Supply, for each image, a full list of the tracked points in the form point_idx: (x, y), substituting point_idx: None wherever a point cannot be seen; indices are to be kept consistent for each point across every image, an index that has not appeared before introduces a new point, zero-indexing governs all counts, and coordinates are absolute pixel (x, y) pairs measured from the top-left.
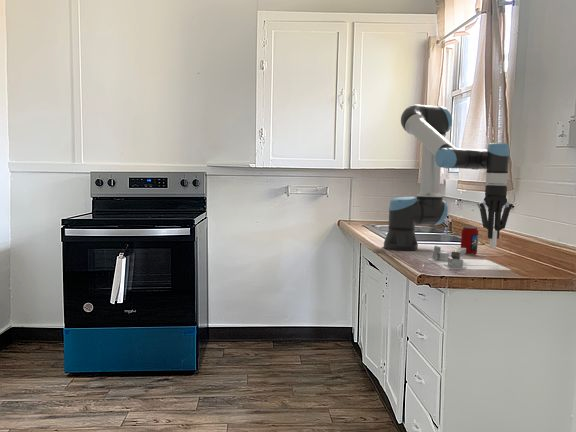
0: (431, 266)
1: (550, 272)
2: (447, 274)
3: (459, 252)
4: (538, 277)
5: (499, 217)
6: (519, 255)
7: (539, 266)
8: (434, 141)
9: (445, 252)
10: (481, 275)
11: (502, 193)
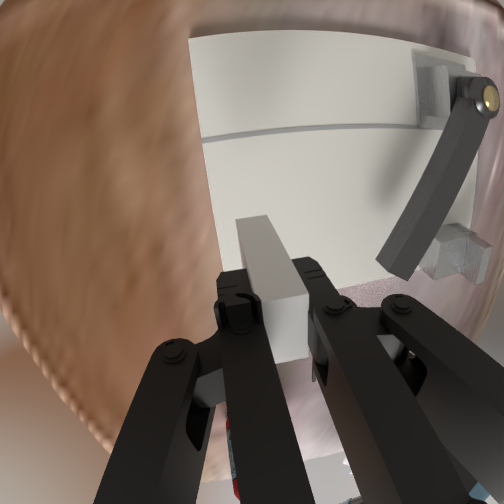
0: (481, 151)
1: (3, 131)
2: (466, 15)
3: (478, 90)
4: None
5: (266, 482)
6: (88, 427)
7: (21, 265)
8: None
9: (442, 263)
10: None
11: None
